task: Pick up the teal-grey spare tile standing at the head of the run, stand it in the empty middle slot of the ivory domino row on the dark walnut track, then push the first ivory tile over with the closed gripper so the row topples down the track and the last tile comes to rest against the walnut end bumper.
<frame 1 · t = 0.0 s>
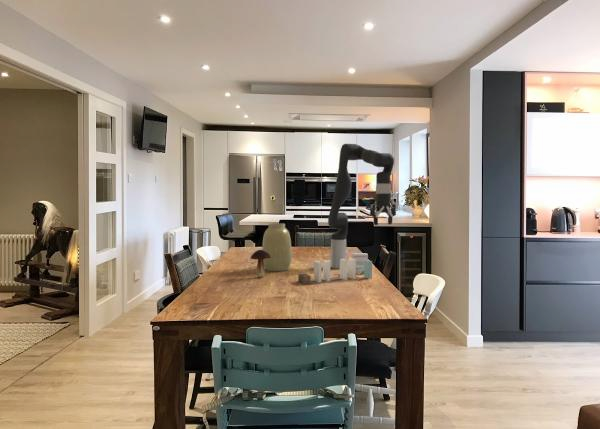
hand: (382, 224, 227), 29 cm above the table, fingers open, 8 cm apart
domino 3: (326, 280, 226), point 1 cm above the table, touching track
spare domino: (367, 279, 233), on the table
domino 2: (343, 278, 230), point 1 cm above the table, touching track
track: (329, 282, 227), on the table
ink box: (359, 274, 247), on the table
domino 4: (317, 281, 224), point 1 cm above the table, touching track
vase: (276, 269, 263), on the table
decorative mushroom: (260, 277, 239), on the table
domino 1: (351, 278, 232), point 1 cm above the table, touching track
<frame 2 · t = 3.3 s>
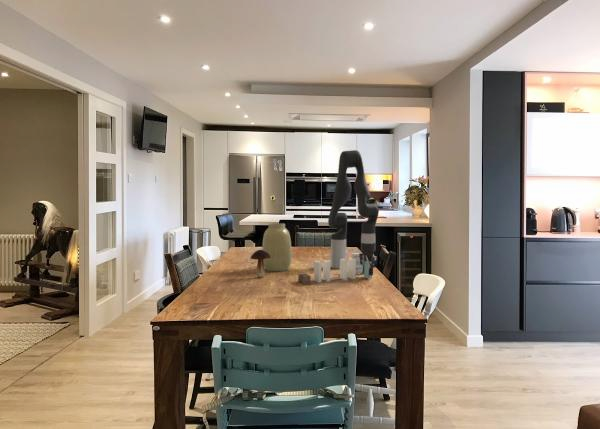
hand: (367, 274, 233), 3 cm above the table, fingers closed on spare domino, 5 cm apart
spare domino: (367, 279, 233), on the table, touching gripper
everything else where it was.
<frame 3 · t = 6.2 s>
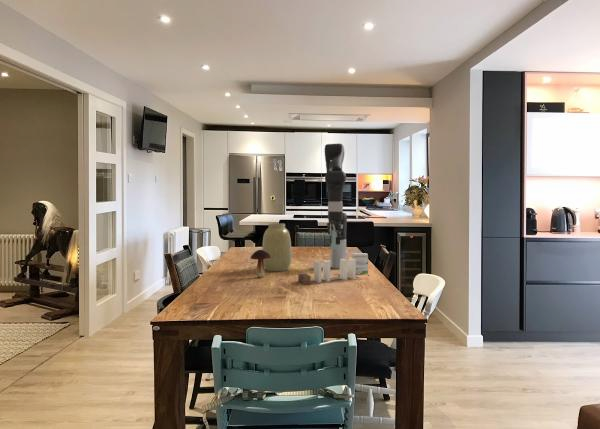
hand: (335, 243, 227), 20 cm above the table, fingers closed on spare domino, 5 cm apart
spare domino: (335, 249, 227), point 17 cm above the table, touching gripper
everything else where it was.
when the fingers open (5 cm above the table, at t = 9.3 s): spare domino stays where it is, resting on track.
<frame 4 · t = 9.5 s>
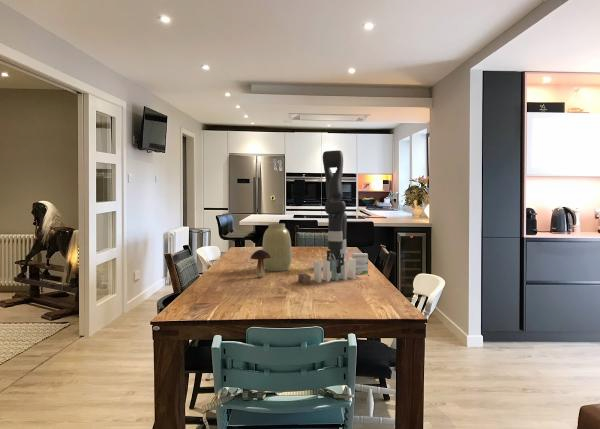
hand: (335, 271, 228), 5 cm above the table, fingers open, 7 cm apart
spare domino: (335, 279, 228), point 1 cm above the table, touching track
everything else where it was.
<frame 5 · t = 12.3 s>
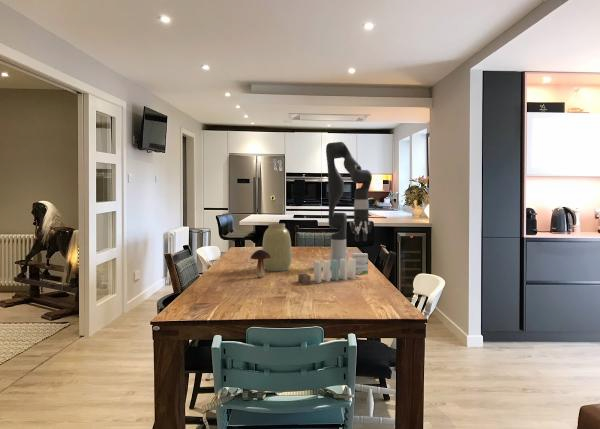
hand: (361, 240, 234), 20 cm above the table, fingers open, 4 cm apart
nothing on the table moved.
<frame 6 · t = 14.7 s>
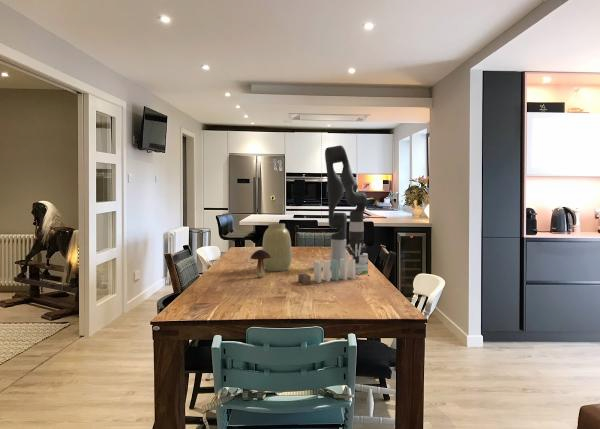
hand: (356, 263, 233), 9 cm above the table, fingers closed
domino 1: (351, 278, 232), point 1 cm above the table, touching gripper, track
everything else where it was.
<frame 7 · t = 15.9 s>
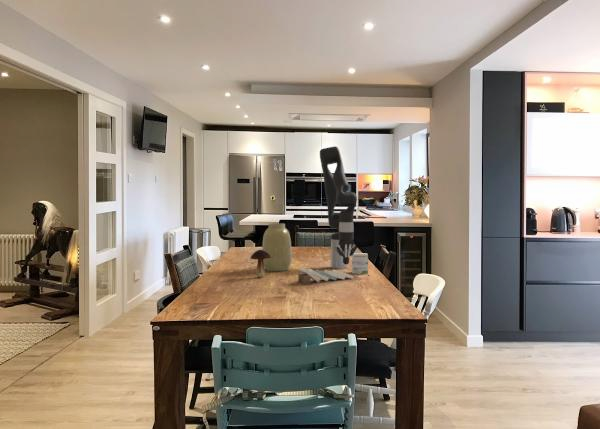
hand: (346, 264, 230), 9 cm above the table, fingers closed
domino 3: (325, 279, 226), point 2 cm above the table, tilted 60°, touching domino 4, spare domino, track
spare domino: (333, 278, 228), point 2 cm above the table, tilted 65°, touching domino 2, domino 3, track
domino 2: (342, 277, 230), point 2 cm above the table, tilted 68°, touching domino 1, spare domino, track
domino 4: (317, 280, 224), point 2 cm above the table, tilted 52°, touching domino 3, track
domino 1: (350, 276, 232), point 2 cm above the table, tilted 69°, touching domino 2, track
everything else where it was.
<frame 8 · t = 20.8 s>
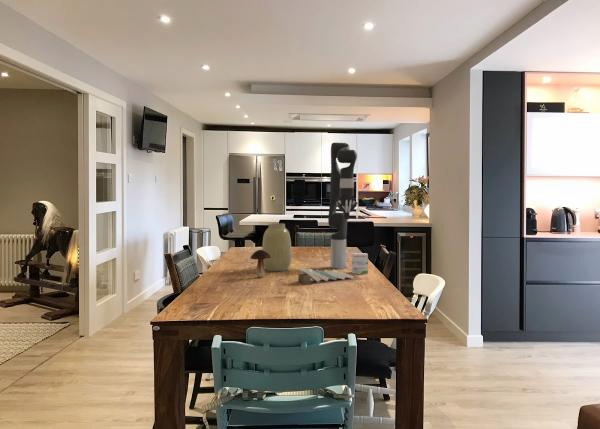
hand: (346, 219, 240), 31 cm above the table, fingers closed
nothing on the table moved.
at the end: domino 4 tilted 52°; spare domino inside the target area (0.4 cm from its centre), point 1.7 cm above the table; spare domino tilted 65° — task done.
